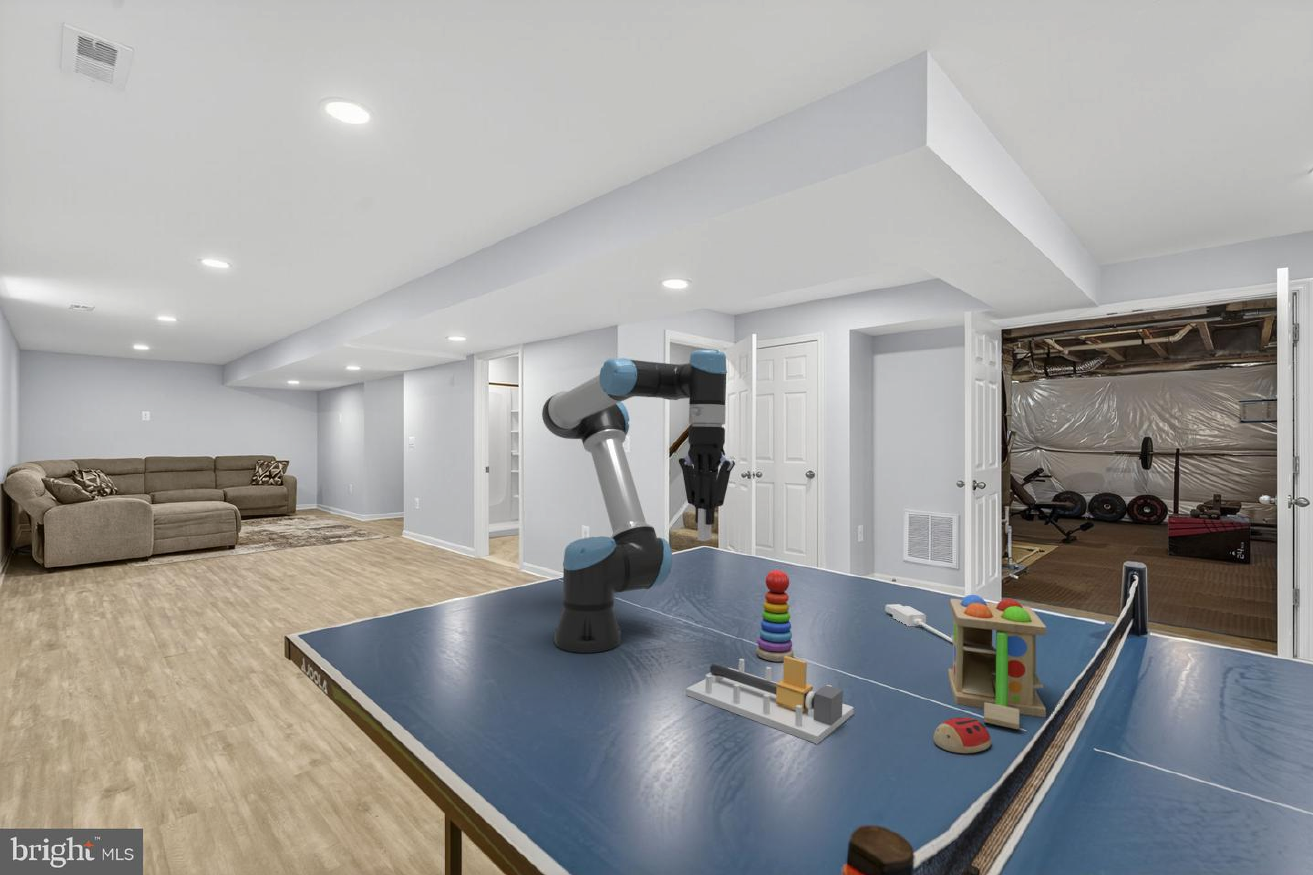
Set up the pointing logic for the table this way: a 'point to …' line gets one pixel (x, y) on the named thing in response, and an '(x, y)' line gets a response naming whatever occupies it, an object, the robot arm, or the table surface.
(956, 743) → the ladybug figurine
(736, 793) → the table surface
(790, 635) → the stacking toy
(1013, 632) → the pounding bench toy
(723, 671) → the slider track board
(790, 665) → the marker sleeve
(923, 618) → the charging cable
